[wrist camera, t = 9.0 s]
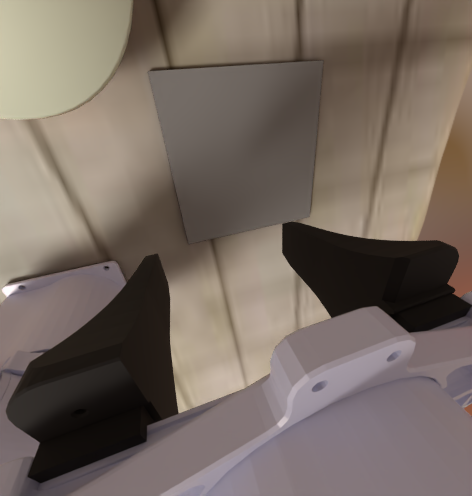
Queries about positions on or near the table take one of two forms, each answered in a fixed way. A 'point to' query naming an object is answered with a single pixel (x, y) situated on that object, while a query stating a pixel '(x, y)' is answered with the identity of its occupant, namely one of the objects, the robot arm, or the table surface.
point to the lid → (58, 53)
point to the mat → (240, 143)
